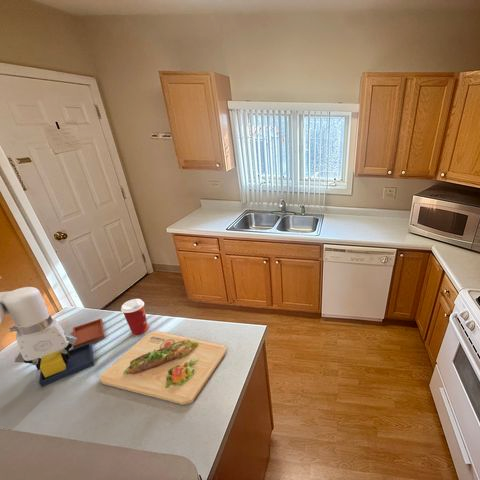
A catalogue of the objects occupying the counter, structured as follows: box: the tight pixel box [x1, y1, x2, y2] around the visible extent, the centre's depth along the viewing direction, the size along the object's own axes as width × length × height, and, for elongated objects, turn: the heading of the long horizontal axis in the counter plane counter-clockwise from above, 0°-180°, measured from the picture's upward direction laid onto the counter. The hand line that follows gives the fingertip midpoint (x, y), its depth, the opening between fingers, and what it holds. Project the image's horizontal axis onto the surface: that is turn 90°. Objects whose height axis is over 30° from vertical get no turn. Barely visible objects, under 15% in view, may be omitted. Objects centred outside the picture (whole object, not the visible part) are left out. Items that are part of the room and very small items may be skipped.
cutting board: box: [99, 330, 228, 406], centre depth 91 cm, size 35×23×8 cm
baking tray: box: [38, 342, 95, 388], centre depth 90 cm, size 13×11×2 cm
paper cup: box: [120, 298, 149, 336], centre depth 104 cm, size 8×8×14 cm
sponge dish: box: [72, 318, 106, 349], centre depth 103 cm, size 12×9×2 cm
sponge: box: [40, 351, 66, 378], centre depth 87 cm, size 8×5×4 cm, turn 41°
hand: (55, 364), depth 88 cm, fingers closed on sponge, 5 cm apart
